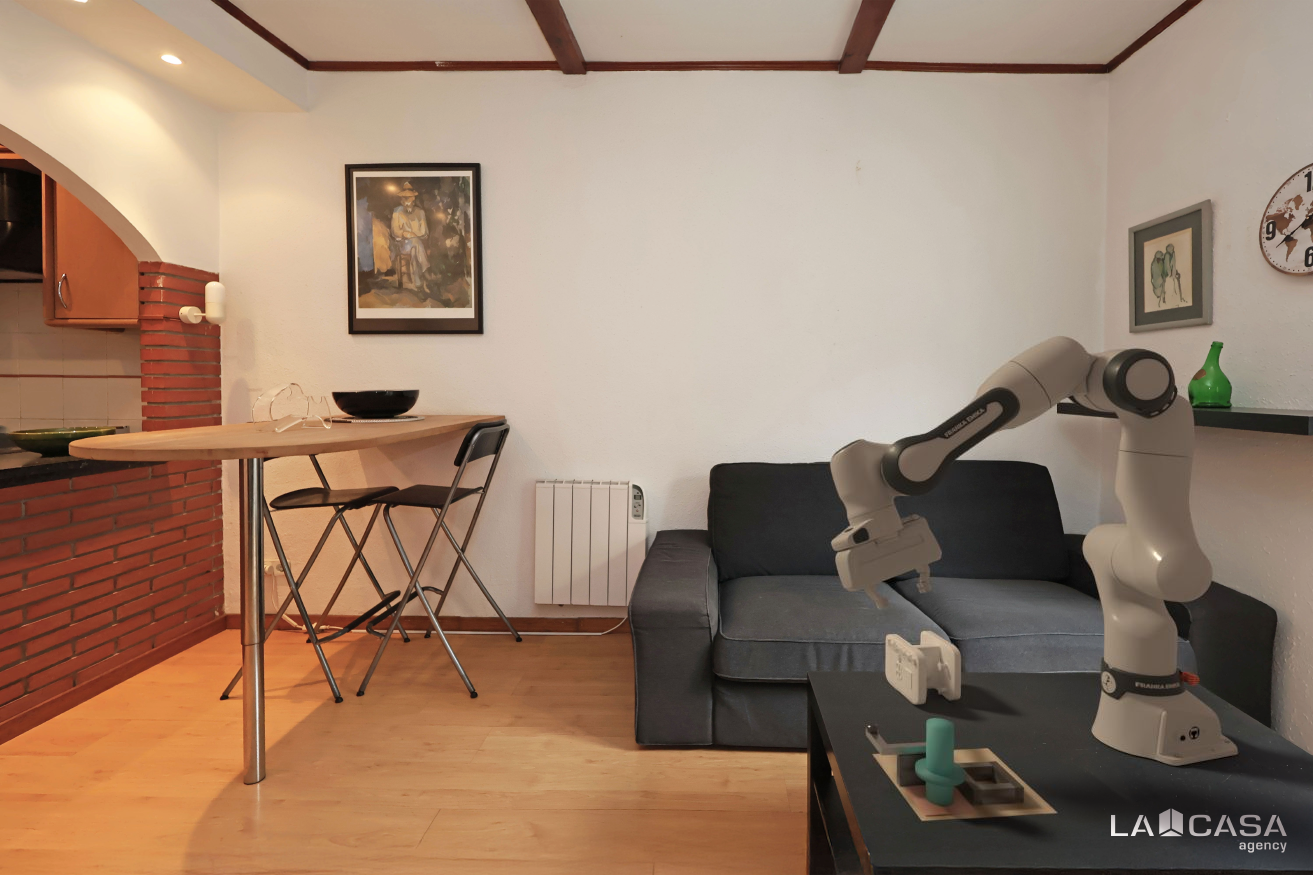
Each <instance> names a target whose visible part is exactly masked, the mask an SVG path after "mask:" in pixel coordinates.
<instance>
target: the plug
mask: <svg viewBox="0 0 1313 875" xmlns="http://www.w3.org/2000/svg"><path fill="white" fill-rule="evenodd" d="M925 725H926V726H925V727H926V730H925V731H926V734H925V736H926V737H925V739H926V740H925V742H926V758H923V759H920V760H918V761H917V762H916V764H915V772H916V774H917V776H918V777H919V778H921V779H922V780H924V781H926V799H927V800H928V801H929V802H931V803H932V804H935V805H938V806H949V805H951V804H953V787H954V786H957V785H960V784H962V783H963V782H964V780H965V771H964V769H963V768H962V767H961V766H960V765H958V764H956V763H955V762H954V750H955V724H954V723H953V722H952V721H951V720H947V719H944V718H941V717H938V718H937V717H932V718H931V717H930V718H929V719H927V720H926V724H925Z"/></svg>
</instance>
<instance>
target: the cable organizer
mask: <svg viewBox="0 0 1313 875" xmlns="http://www.w3.org/2000/svg"><path fill="white" fill-rule="evenodd" d="M884 669H885V672H884V673H885V677H886V680H887V681H888V683H889V684H890V685H891V687H893V688H894V689H895V690H896V691H898V692H899V693H900V694H901V695H903V696H904V697H905V698H906V700H908V701H909V702H910V703H911V704H913V705H924V704H925V703H926V700H927V697H928V694H927V693H928V689H935V690H937V692H938V693H937V695H938V696H939V695H942V696H943V697H944V698H945V699H947V700H948V701H956V700H959V699H960V698H961V692H962V691H961V690H962V688H961V687H962V655H961V652H960V650H959V649H958V648H957V647H956V645H954V644H953V643H951V642H949V641H947V640H946V639H944V638H943V637H941V636H939V635H938V634H937V633H935V632H934V631H932V630H923V631H921V633H920V644H911V643H910V642H909V641H907V640H906V639H904V638H902V637H901V636H900V635H899V634H896V633H891V634H887V635H886V636H885V668H884Z"/></svg>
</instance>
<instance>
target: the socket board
mask: <svg viewBox="0 0 1313 875" xmlns="http://www.w3.org/2000/svg"><path fill="white" fill-rule="evenodd" d="M872 756H873V758H875V760H876V761H877V763H878V764H879V765H880V767H881V768H882V769H883V771H884V772H885V773H886V775H887V776H888V777H889V779H890V780H891V782H892V783H893V784H894V785H895V787H896V788H897V789H898V791H899V792H900V794H902V796H903V798H904V799H905V800H906V801H907V803H908V804H909V806H910V807H911V808H912V811H914V813H915V814H916V816H918V818H919V819H920V820H921V821H922V822H930V821H932V822H933V821H946V820H947V821H948V820H962V819H963V820H964V819H965V820H967V819H981V818H997V817H998V818H999V817H1012V816H1013V817H1014V816H1016V817H1017V816H1032V815H1051V814H1058V811H1056V810H1055V809H1054V807H1052V806H1050V804H1049V803H1048V802H1046V800H1044V799H1043V798H1042V797H1041V796H1040V795H1039V794H1038V793H1037V792H1036V791H1035V790H1034V789H1032V787H1030V786H1029V785H1028V784H1027V783H1026V782H1025V781H1023V779H1021V778H1020V777H1019V776H1018V775H1017V774H1016V773H1015V772H1014V771H1013V770H1012V769H1011V768H1009V767H1010V766H1009V767H1008V765H1006V764H1005V763H1004V762H1003V761H1002V760H1001V759H1000V758H999V757H998V756H997V755H996V754H994V752H992V751H991V750H990V749H989V748H970V749H969V748H968V749H967V748H966V749H954V762H955V763H956V764H958V765H960V766H961V767H962V768H963V769H964V771H965V780H964V782H963V783H962V784H960V785H957V786H954V787H953V804H951V805H949V806H938V805H935V804H932V803H931V802H929V801H928V800H927V799H926V781H924V780H922V779H921V778H919V777H918V776H917V774H916V772H915V764H916V762H917V761H918V760H920V759H923V758H926V753H921V754H901V755H882V756H881V754H880V753H872Z"/></svg>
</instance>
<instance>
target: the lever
mask: <svg viewBox="0 0 1313 875" xmlns="http://www.w3.org/2000/svg"><path fill="white" fill-rule="evenodd" d="M865 736H866V737H867V739H868V740H869V741H870V743H871V744H872V745H873V746H874V748H875V749H876V750H877V751H878V754H881V756H882V755H901V754H921V753H926V741H924V742H922V741H921V742H906V743H905V742H904V743H887V742H886V741H885V740H884V738H883V737H882V736H881V735H880V733H879V724H877V723H874V722H869V723H866V727H865Z"/></svg>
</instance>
